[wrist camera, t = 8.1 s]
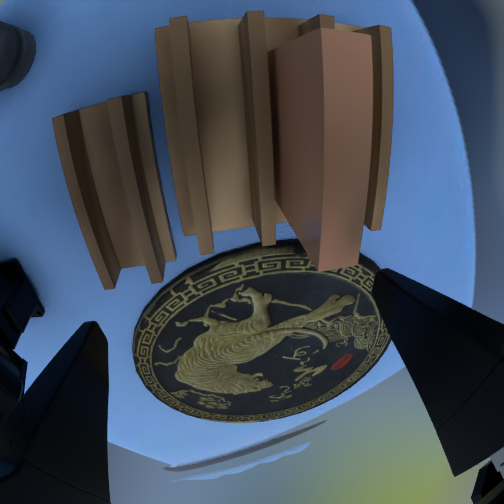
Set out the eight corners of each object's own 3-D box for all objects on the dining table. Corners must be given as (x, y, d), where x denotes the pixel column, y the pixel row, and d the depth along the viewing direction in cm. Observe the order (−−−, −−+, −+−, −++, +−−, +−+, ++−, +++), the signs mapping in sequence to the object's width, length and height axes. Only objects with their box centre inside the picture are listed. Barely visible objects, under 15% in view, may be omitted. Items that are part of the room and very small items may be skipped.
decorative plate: (434, 317, 30) (282, 433, 41) (426, 308, 32) (279, 423, 42) (249, 168, 18) (98, 390, 28) (245, 161, 19) (100, 377, 29)
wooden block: (269, 191, 19) (318, 272, 11) (261, 55, 14) (320, 27, 6) (295, 188, 19) (357, 265, 12) (291, 55, 14) (371, 35, 7)
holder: (105, 265, 21) (95, 291, 18) (63, 115, 14) (41, 122, 11) (176, 254, 21) (174, 280, 19) (146, 92, 15) (135, 92, 12)
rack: (184, 229, 20) (182, 265, 17) (157, 31, 13) (143, 15, 9) (363, 206, 22) (393, 234, 18) (368, 31, 14) (406, 25, 10)
